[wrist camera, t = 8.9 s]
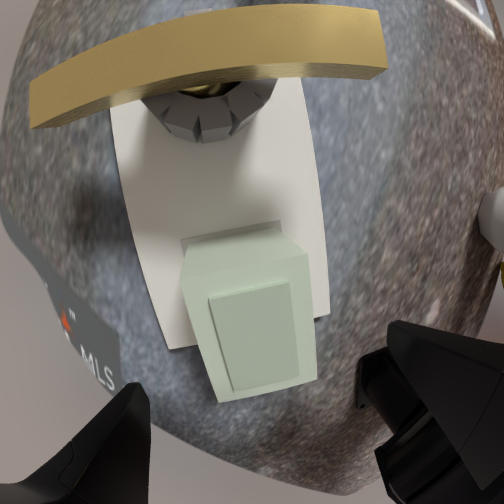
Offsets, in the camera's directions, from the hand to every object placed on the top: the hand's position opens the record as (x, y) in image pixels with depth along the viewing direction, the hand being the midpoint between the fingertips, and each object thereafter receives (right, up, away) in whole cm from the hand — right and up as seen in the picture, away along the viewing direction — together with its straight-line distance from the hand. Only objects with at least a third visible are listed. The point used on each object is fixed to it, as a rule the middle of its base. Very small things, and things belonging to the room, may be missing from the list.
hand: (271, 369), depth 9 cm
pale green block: (-1, +2, +6) cm, 7 cm away
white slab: (-2, +7, +6) cm, 10 cm away
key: (-2, +12, +3) cm, 13 cm away
